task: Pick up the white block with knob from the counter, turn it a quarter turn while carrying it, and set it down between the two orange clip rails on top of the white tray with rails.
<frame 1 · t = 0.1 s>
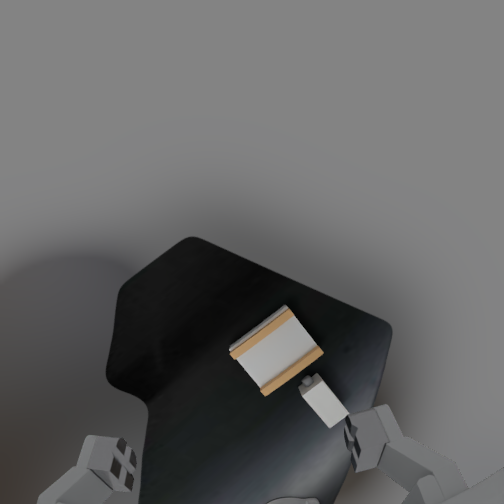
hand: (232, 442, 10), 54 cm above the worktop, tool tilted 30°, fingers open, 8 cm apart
white tray with rails: (275, 347, 63), on the worktop
white block with knob: (320, 395, 62), on the worktop
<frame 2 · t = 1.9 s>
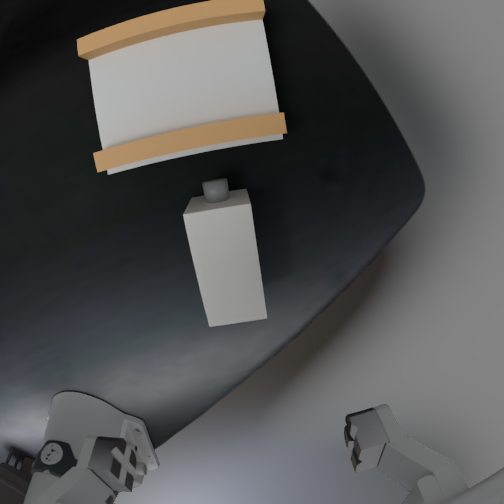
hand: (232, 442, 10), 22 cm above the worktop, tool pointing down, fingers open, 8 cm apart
white tray with rails: (185, 86, 24), on the worktop
white block with knob: (227, 243, 30), on the worktop
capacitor: (24, 457, 47), on the worktop
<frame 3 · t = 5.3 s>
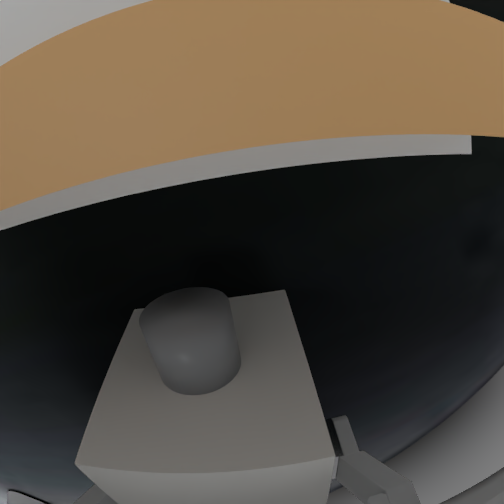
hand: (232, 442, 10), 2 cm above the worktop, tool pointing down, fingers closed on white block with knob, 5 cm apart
white block with knob: (232, 401, 12), on the worktop, touching gripper
when the fingers open (8 cm above the worktop, at t = 10.6 s): white block with knob drops 1 cm, resting on white tray with rails.
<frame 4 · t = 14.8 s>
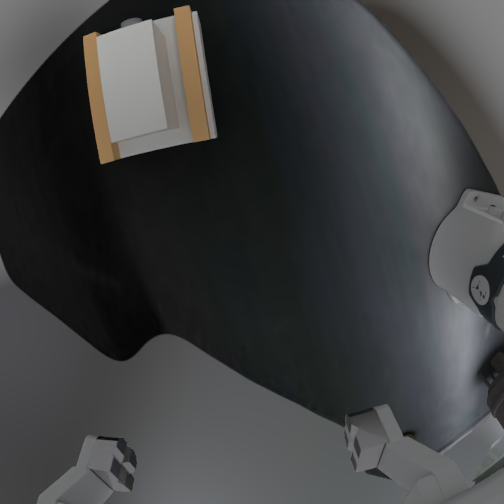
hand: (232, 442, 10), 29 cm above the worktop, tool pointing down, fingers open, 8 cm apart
white tray with rails: (155, 88, 30), on the worktop
white block with knob: (147, 86, 27), point 4 cm above the worktop, touching white tray with rails
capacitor: (490, 365, 53), on the worktop
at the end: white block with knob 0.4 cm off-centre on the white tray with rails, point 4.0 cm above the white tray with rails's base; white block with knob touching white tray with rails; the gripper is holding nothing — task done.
